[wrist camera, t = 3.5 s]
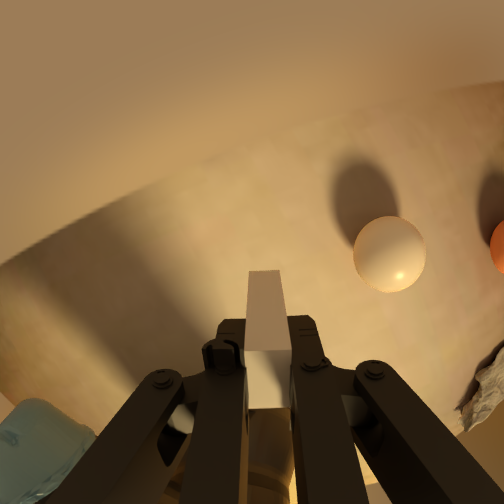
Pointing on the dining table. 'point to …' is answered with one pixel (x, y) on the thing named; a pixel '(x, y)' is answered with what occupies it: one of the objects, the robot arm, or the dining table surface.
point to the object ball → (498, 247)
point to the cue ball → (389, 254)
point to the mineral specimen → (485, 394)
